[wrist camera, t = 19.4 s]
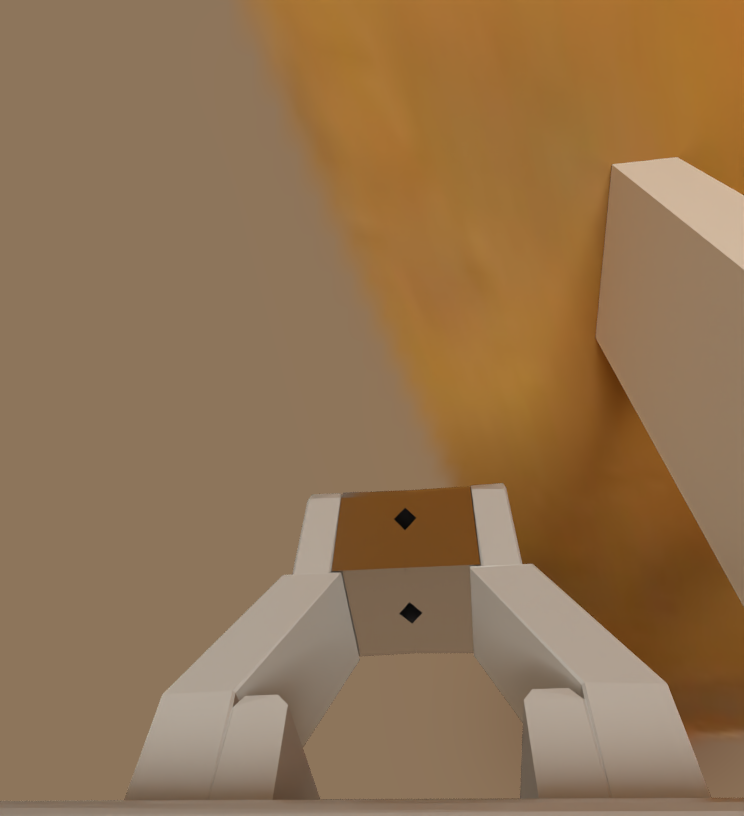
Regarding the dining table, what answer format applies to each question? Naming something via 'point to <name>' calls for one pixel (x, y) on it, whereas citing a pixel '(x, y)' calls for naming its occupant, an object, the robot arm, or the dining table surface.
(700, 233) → the domino end
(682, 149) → the dining table surface
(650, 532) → the dining table surface
